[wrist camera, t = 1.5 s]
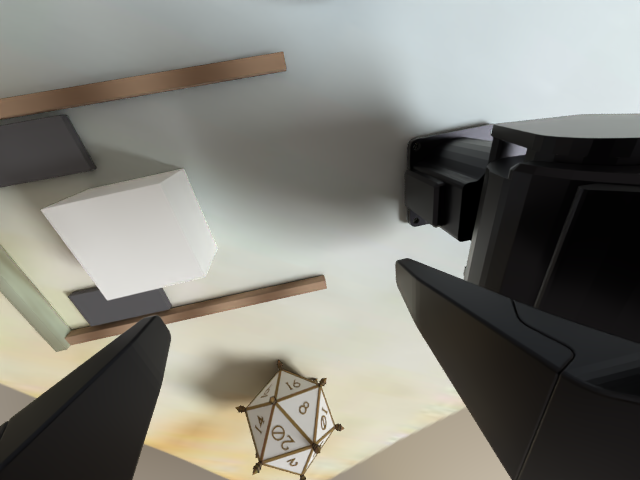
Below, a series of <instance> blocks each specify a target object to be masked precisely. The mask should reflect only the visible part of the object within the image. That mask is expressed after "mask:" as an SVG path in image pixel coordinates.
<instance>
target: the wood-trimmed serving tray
mask: <svg viewBox="0 0 640 480" xmlns="http://www.w3.org/2000/svg"><path fill="white" fill-rule="evenodd" d="M283 71H286V64H285V58H284V53H283V52H278V53H272V54H266V55H260V56H254V57H248V58H242V59H236V60H230V61H224V62H218V63H212V64H206V65H200V66H194V67H188V68H182V69H176V70H170V71H164V72H158V73H152V74H146V75H140V76H134V77H128V78H122V79H116V80H110V81H104V82H98V83H92V84H86V85H80V86H74V87H69V88H63V89H57V90H51V91H45V92H39V93H33V94H27V95H21V96H15V97H9V98H3V99H0V120H3V119H9V118H15V117H21V116H26V115H32V114H38V113H44V112H50V111H55V110H61V109H67V108H73V107H79V106H85V105H90V104H96V103H102V102H108V101H114V100H120V99H125V98H131V97H137V96H143V95H149V94H155V93H160V92H166V91H172V90H178V89H184V88H190V87H195V86H201V85H207V84H213V83H219V82H224V81H230V80H236V79H242V78H248V77H254V76H259V75H265V74H271V73H277V72H283ZM326 288H327V287H326V281H325V277H324V275H322V276H317V277H313V278H308V279H304V280H299V281H295V282H290V283H285V284H281V285H276V286H272V287H267V288H263V289H258V290H253V291H249V292H244V293H240V294H235V295H231V296H226V297H221V298H217V299H212V300H208V301H203V302H199V303H194V304H189V305H185V306H180V307H176V308H171V309H169V310H165V311H160V312H155V313H151V314H146V315H142V316H137V317H133V318H128V319H123V320H119V321H114V322H110V323H105V324H101V325H96V326H92V327H91V326H89V327H84V328H80V329H75V330H71V329H70V328H69V327H68V325H67V324H66V323H65V322H64V321H63V319H62V318H61V317H60V316H59V315H58V313H57V312H56V311H55V310H54V309H53V307H52V306H51V305H50V304H49V303H48V301H47V300H46V299H45V298H44V297H43V296H42V294H41V293H40V292H39V291H38V290H37V288H36V287H35V286H34V285H33V284H32V282H31V281H30V280H29V279H28V278H27V276H26V275H25V274H24V273H23V272H22V270H21V269H20V268H19V267H18V266H17V264H16V263H15V262H14V261H13V260H12V258H11V257H10V256H9V255H8V254H7V252H6V251H5V250H4V249H3V248H2V246H1V245H0V292H1V293H2V294H3V295H4V296H5V297H6V298H7V299H8V300H9V301H10V302H11V304H12V305H13V306H14V307H15V308H16V309H17V310H18V311H19V312H20V313H21V314H22V315H23V317H24V318H25V319H26V320H27V321H28V322H29V323H30V324H31V325H32V326H33V327H34V328H35V330H36V331H37V332H38V333H39V334H40V335H41V336H42V337H43V338H44V339H45V340H46V342H47V343H48V344H49V345H50V346H51V347H52V348H53V349H54V350H55V351H56V352H58V351H62V350H67V349H68V348H69V346H70V345H74V344H79V343H83V342H88V341H92V340H97V339H101V338H106V337H110V336H115V335H119V334H123V333H124V332H125V331H127V330H128V329H129V328H131V327H132V326H133V325H135V324H136V323H137V322H139V321H140V320H141V319H143V318H145V317H149V316H154V315H158V316H160V317H161V319H162V320H163V322H164V323H165V324H169V323H173V322H178V321H182V320H187V319H191V318H196V317H200V316H205V315H209V314H214V313H218V312H223V311H227V310H232V309H236V308H241V307H245V306H250V305H254V304H259V303H263V302H268V301H272V300H277V299H281V298H286V297H290V296H295V295H299V294H304V293H308V292H313V291H317V290H322V289H326Z"/></svg>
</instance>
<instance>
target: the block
mask: <svg viewBox="0 0 640 480" xmlns="http://www.w3.org/2000/svg"><path fill="white" fill-rule="evenodd" d="M40 210H41V211H42V213H43V214H44V215H45V217H46V218H47V220H48V221H49V222H50V224H51V225H52V226H53V228H54V229H55V230H56V232H57V233H58V234H59V236H60V237H61V238H62V240H63V241H64V243H65V244H66V245H67V247H68V248H69V249H70V251H71V252H72V253H73V255H74V256H75V257H76V259H77V260H78V262H79V263H80V264H81V266H82V267H83V268H84V270H85V271H86V272H87V274H88V275H89V276H90V278H91V279H92V280H93V282H94V283H95V285H96V286H97V287H98V289H99V290H100V291H101V293H102V294H103V295H104V297H105V298H106V299H107V301H108V300H112V299H116V298H120V297H124V296H129V295H133V294H137V293H141V292H146V291H150V290H154V289H158V288H162V287H167V286H171V285H175V284H179V283H184V282H188V281H192V280H196V279H200V278H205V277H206V275H207V272H208V270H209V268H210V265H211V263H212V261H213V258H214V256H215V254H216V251H217V249H218V247H217V245H216V243H215V240H214V238H213V236H212V233H211V231H210V229H209V226H208V224H207V222H206V219H205V217H204V215H203V212H202V210H201V208H200V205H199V203H198V201H197V198H196V196H195V194H194V191H193V189H192V187H191V184H190V182H189V180H188V177H187V175H186V172H185V170H184V168H182V169H178V170H173V171H169V172H164V173H160V174H155V175H150V176H146V177H141V178H137V179H132V180H128V181H123V182H118V183H114V184H109V185H105V186H100V187H95V188H91V189H88V190H85V191H83V192H80V193H78V194H76V195H73V196H71V197H69V198H66V199H64V200H61V201H59V202H57V203H54V204H52V205H50V206H47V207H45V208H43V209H40Z"/></svg>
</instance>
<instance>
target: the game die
mask: <svg viewBox="0 0 640 480" xmlns="http://www.w3.org/2000/svg"><path fill="white" fill-rule="evenodd" d="M277 365H278V368H279V371H278V372H277V373H276V374H275V375H274V377H273V378H272V379H271V380H270V381H269V382H268V383H267V385H266V386H265V387H264V388H263V389H262V390H261V391H260V393H259V394H258V395H257V396H256V397H255V398H254V399H253V401H252V402H251V403H250V404H249V405H248V406H247V407H246V408H245V407H244V406H241V405H240V406H239V407H236V409H237V410H238V412H241V413H242V412H245V414H246V417H247V421H248V424H249V428H250V432H251V435H252V439H253V442H254V446H255V449H256V458H258V460H259V462H258V463H256V465H255V466H254V467H253V469H254V470H253V475H254V474H256V473H259V471H260V470H261V466H262V465H264V466H268V467H272V468H275V469H279V470H282V471H286V472H290V473H293V474H297V475H300V480H306V477H305V476H304V473H305V472H306V470H307V469H308V467H309V466H310V464H311V463H312V461H313V460H314V459H315V457H316V456H317V454H318V453H320V450H321V448H322V447H323V445H324V444H325V442H326V441H327V439H328V438H329V436H330V435H331V433H332V432H333V430H334V429H336V430H337V431H338V430H339V431H341V430H343V429H344V428H343V427H342V426H341V424H336V425H335V424H334V421H333V418H332V415H331V412H330V409H329V407H328V404H327V401H326V398H325V395H324V392H323V390H322V386H324V385H325V384H326V379H327V378H324V379H323V378H322V379H321V381H319V383H317V382H318V381H317V379H314V380H313V381H311V380H309V379H306V378H304V377H301V376H299V375H296V374H293V373H291V372H288V371H286V370H283V369H282V366H283V365H282V363H281V362H280V361H279V360H278V364H277Z"/></svg>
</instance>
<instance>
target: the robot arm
mask: <svg viewBox="0 0 640 480" xmlns="http://www.w3.org/2000/svg"><path fill="white" fill-rule="evenodd" d="M491 130H492V134H491V135H490V132H491ZM416 143H418V147H417V149H415V150H414V145H415V144H416ZM407 160H408V170H407V171H406V173H405V205H406V206H407V207H408V223H409V224H410V225H411V226H414V227H416V226H421V225H425V224H431V225H432V226H433V227H435V228H436V227H440V228H442V229H443V230H444V231H446V232H447V233H449V234H450V235H451V236H453V237H454V238H456V239H457V240H458V241H460V242H463V241H467V240H471V246H470V251H469V256H468V261H467V266H466V267H465V270H464V280H463V279H460V278H458V277H455V276H452V275H450V274H447V273H445V272H442V271H440V270H437V269H435V268H432V267H430V266H427V265H424V264H422V263H419V262H417V261H414V260H412V259H409V258H405V259H401V260H397V261H396V264H395V267H396V283H397V286H398V289H399V291H400V293H401V295H402V297H403V299H404V301H405V303H406V306H407V308H408V310H409V312H410V314H411V316H412V318H413V320H414V322H415V324H416V326H417V328H418V329H419V331H420V333H421V334H422V336H423V338H424V339H425V341H426V342H427V344H428V346H429V347H430V349H431V350H432V352H433V354H434V355H435V357H436V359H437V360H438V362H439V363H440V365H441V367H442V368H443V370H444V371H445V373H446V375H447V376H448V378H449V379H450V381H451V383H452V384H453V386H454V388H455V389H456V391H457V392H458V394H459V396H460V397H461V399H462V400H463V402H464V404H465V405H466V407H467V408H468V410H469V412H470V413H471V415H472V417H473V418H474V420H475V421H476V422H477V425H478V426H479V428H480V429H481V431H482V432H483V434H484V436H485V437H486V439H487V441H488V442H489V444H490V445H491V447H492V449H493V450H494V452H495V453H496V455H497V457H498V458H499V460H500V462H501V463H502V465H503V466H504V468H505V470H506V471H507V473H508V474H509V476H510V478H511V479H512V480H640V114H582V115H571V116H562V117H553V118H544V119H535V120H526V121H517V122H508V123H498V124H487V125H481V126H476V127H471V128H466V129H461V130H455V131H450V132H445V133H440V134H435V135H429V136H424V137H419V138H414V139H412V140H411V141H410V142H409V143H408V147H407ZM414 218H417V220H416V221H414V222H413V220H414ZM170 342H171V334H170V332H169V330H168V328H167V327H166V325H165V323H164V322H163V320H162V319H161V317H160V316H158V315H154V316H149V317H145V318H143V319H141V320H140V321H139V322H137V323H136V324H135V325H133V326H132V327H131V328H129V329H128V330H127V331H125V332H124V333H123V334H122V335H120V336H119V337H118V338H116V339H115V340H114V341H112V342H111V343H110V344H108V345H107V346H106V347H104V348H103V349H102V350H100V351H99V352H98V353H96V354H95V355H94V356H92V357H91V358H90V359H88V360H87V361H86V362H84V363H83V364H82V365H80V366H79V367H78V368H76V369H75V370H74V371H72V372H71V373H70V374H68V375H67V376H66V377H65V378H63V379H62V380H61V381H59V382H58V383H57V384H55V385H54V386H53V387H51V388H50V389H49V390H47V391H46V392H45V393H43V394H42V395H41V396H39V397H38V398H37V399H36V400H34V401H33V402H31V403H30V404H29V405H28V406H26V407H25V408H23V409H22V410H21V411H19V412H18V413H17V414H15V415H14V416H13V417H12V418H11V419H10V420H9V421H7V422H5V423H3V424H2V425H1V426H0V480H132V479H133V476H134V473H135V469H136V466H137V463H138V459H139V457H140V453H141V450H142V447H143V444H144V440H145V437H146V434H147V431H148V428H149V424H150V421H151V418H152V415H153V412H154V408H155V405H156V402H157V399H158V396H159V392H160V389H161V385H162V381H163V376H164V371H165V366H166V362H167V357H168V352H169V347H170Z"/></svg>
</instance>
